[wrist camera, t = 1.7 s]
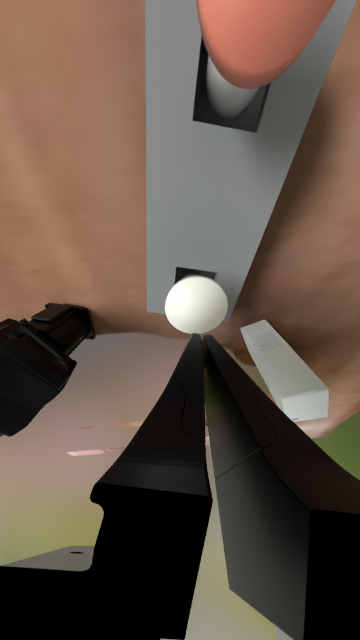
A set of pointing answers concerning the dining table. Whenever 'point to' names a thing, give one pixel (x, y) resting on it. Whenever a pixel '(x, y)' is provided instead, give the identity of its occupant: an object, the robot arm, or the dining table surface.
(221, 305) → the white plunger
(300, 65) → the block
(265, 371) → the skincare box
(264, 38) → the red plunger
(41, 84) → the dining table surface
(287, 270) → the dining table surface
